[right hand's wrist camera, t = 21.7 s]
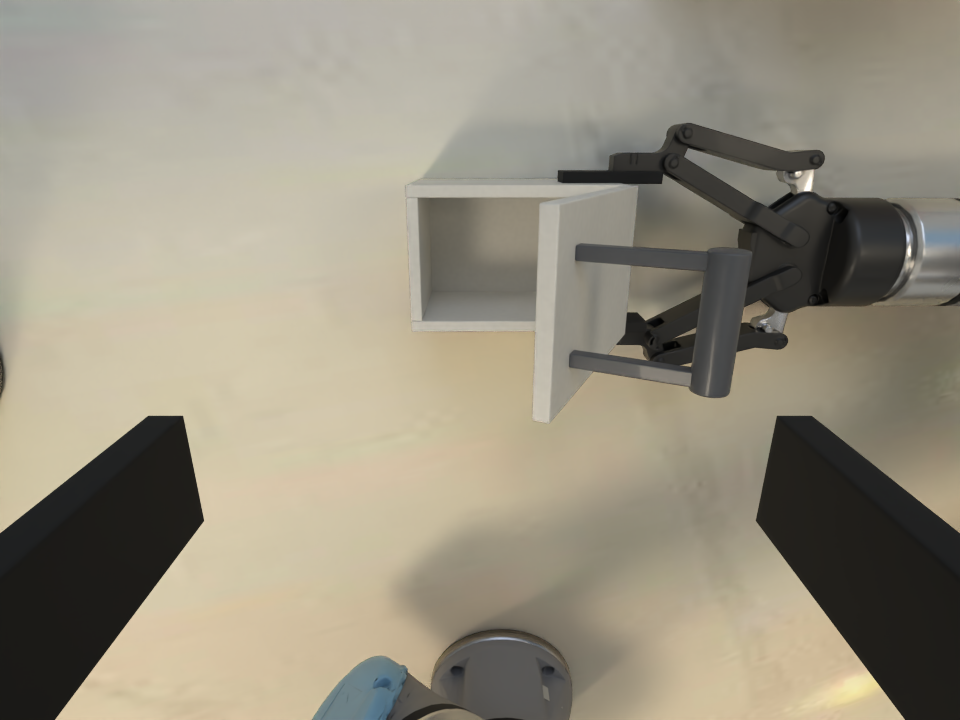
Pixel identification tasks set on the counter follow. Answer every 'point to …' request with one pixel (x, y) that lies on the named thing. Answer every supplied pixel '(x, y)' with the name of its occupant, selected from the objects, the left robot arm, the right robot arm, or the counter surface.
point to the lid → (621, 301)
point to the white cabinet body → (477, 251)
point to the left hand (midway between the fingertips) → (556, 252)
